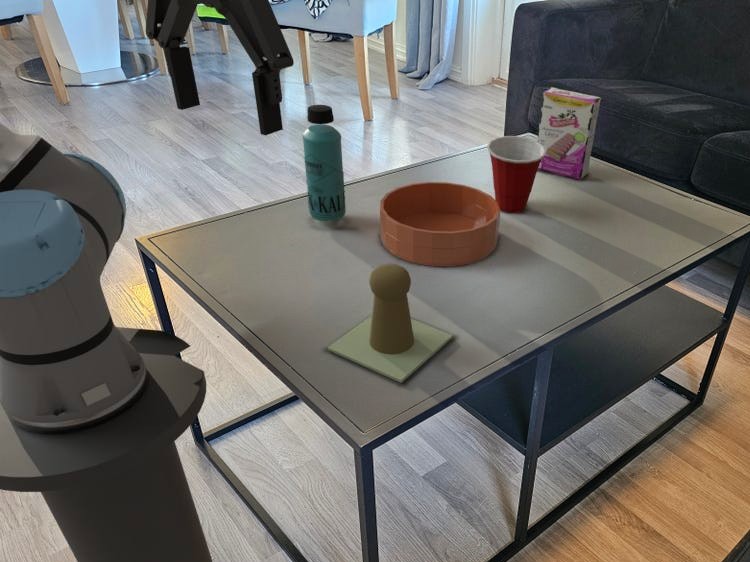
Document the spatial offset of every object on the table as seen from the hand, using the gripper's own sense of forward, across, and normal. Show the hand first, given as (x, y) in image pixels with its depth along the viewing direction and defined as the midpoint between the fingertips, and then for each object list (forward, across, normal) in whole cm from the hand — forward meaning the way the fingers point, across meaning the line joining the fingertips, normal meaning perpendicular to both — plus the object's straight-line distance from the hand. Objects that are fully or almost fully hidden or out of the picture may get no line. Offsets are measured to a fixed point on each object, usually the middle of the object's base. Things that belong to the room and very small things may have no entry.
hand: (229, 119), depth 76 cm
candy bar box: (+27, -12, -76) cm, 82 cm away
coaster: (+27, -20, -4) cm, 34 cm away
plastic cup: (+27, -12, -53) cm, 61 cm away
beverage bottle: (+27, +11, -27) cm, 40 cm away
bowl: (+27, -8, -34) cm, 44 cm away
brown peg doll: (+26, -20, -4) cm, 33 cm away
